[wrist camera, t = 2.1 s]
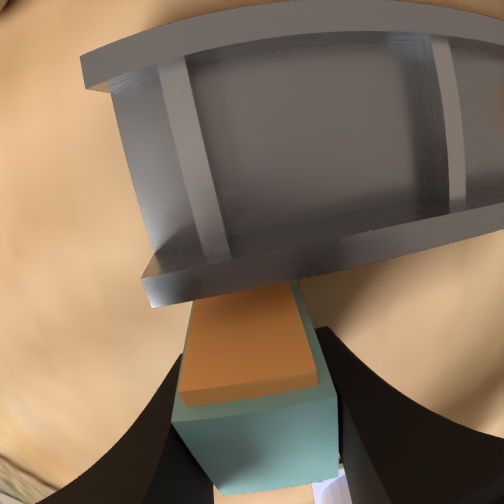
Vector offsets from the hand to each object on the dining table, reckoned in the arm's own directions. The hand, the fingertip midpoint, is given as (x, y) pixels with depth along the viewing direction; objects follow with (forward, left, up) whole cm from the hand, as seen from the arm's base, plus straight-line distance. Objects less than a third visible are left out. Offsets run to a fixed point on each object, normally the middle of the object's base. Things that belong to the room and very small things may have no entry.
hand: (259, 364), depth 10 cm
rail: (+6, -9, -1) cm, 11 cm away
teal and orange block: (0, 0, -1) cm, 1 cm away
